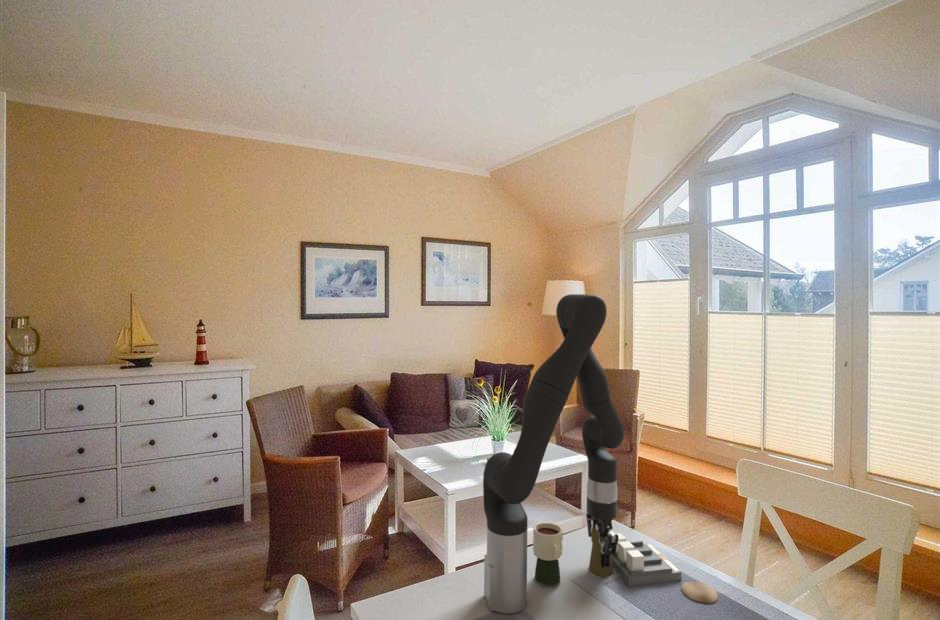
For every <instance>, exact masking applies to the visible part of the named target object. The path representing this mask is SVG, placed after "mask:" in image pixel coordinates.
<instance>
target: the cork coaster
mask: <svg viewBox="0 0 940 620" xmlns="http://www.w3.org/2000/svg"><path fill="white" fill-rule="evenodd" d="M681 592H682V593H683V595H685V596H686V597H687V598H688V599H690V600H693V601H694V602H697V603H702V604H712V603H713V604H714V603H716V602H717V601H718V592H717V591H716V590H715V589H714V588H713V587H711V586H709V585H707V584H706V583H702V582H699V581H685V582H684V583H683V584H682V586H681Z"/></svg>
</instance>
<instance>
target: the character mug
mask: <svg viewBox="0 0 940 620" xmlns="http://www.w3.org/2000/svg"><path fill="white" fill-rule="evenodd" d="M532 531H533V535H532V536H533V538H532V539H533V541H532V543H533V545H532V552H533V555H534V556H535V557H536V564H535V570H534V571H535V572H534V580H535V582H537V583H538V584H540V585H543V586H544V585H545V586H557V585H559V584H560V583H561V568H560V563H559V559H560V558H561V556H562V555H563V553H564V552H563V540H564V535H563V533H564V532H563V528H562V526H560V525H559V524H557V523H554V522H549V521H548V522H547V521H545V522H539V523H536V524H534V526H533V530H532Z"/></svg>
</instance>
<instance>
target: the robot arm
mask: <svg viewBox="0 0 940 620" xmlns="http://www.w3.org/2000/svg"><path fill="white" fill-rule="evenodd" d="M606 305H607V304H606V303H605V301H604V299H603V298H602V297H601V296H599V295H595V294H582V293H581V294H577V293H576V294H572V293H571V294H567V295H565V296H563V297H561V298H560V299H559V300H558V303H557V306H556V310H555V311H556V319H557V323H558V326H559V328H560V331H561V334H562V336H563V339H564V340H563V341H562V343H561V344H560V346H559V347H558V348H557V349H556V350H555V351H554V352H553V353H551V355H550V356H548V358H547V359H546V360H545V361H544V362H543V363H542V364H541V365H540V367H538V368H537V369H536V371H535V373H534V375H533V377H532V379H531V381H530V383H529V385H528V388H527V390H526V391H525V395H524V398H523V402H522V418H521V419H522V421H521V430H520V436H519V438H518V442H517V444H516V446H515V449H514V450H513V453H512V454H510V453H509V452H503V451H502V452H497V453H495V454H493V455H492V456H490V457H489V458H488V460H487V462H486V463H485V466H484V471H483V476H482V477H483V478H482V482H483V483H482V486H483V487H482V489H483V490H482V491H483V509H484V510H483V511H484V514H485V517H486V554H484V557H483V558H484V559H483V560H484V562H483V563H484V564H483V565H484V571H483V572H484V573H483V575H484V576H483V579H484V580H483V584H484V585H483V595H484V596H483V597H484V599H485V601H486V606H487V608H488V610H489V611H490V612H498V613H500V614H517V613H518V612H521V611H523V610H524V609H525V607H526V606H527V599H528V597H527V596H528V590H527V587H528V516H527V513H526V511H525V508H524V507H523V505H522V503H523V502H525V500H526V499H527V498H528V497H529V496H530V495H531V493H532V491H533V489H534V487H535V485H536V482H537V478H538V475H539V473H540V469H541V466H542V463H543V459H544V456H545V453H546V450H547V448H548V445H549V443H550V440H551V438H552V435H553V433H554V430H555V427H556V426H557V422H558V421H559V418H560V416H561V414H562V412H563V410H564V408H565V406H566V403H567V401H568V398H569V396H570V394H571V391H572V388H573V387H574V383H575V381H576V379H577V381H578V386H579V390H580V395H581V401H582V406H583V408H584V410H585V411H586V412H588V413H590V414H591V415H589V416H588V417H586V418H585V420H584V422H583V424H582V428H581V438H582V441H583V446H584V450H585V454H586V458H587V462H588V463H587V464H588V465H587V481H586V513H585V515H586V516H585V517H586V525H587V535H588V537H589V538H591V530H592V528H595V527H596V531H597V533H598V538H599V540H598V542H599V543H600V549H601V567H602V568H603V567H608V568H609V567H610V555H615V552H616V548H617V543H618V539H619V537H618V534H616V533H614V531H613V522H612V521H613V520H614V519H615V518H617V515H618V483H617V476H618V475H617V473H618V472H617V471H618V470H617V467H618V466H617V460H616V457H614V456H613V455H612V454H611V453H609V452H608V451H607V449H612V450H613V449H614V450H615V449H618V448H619V447H620V446H621V445H622V443H623V441H624V438H625V429H624V426H623V422H622V419H621V417H620V416H619V414H618V411H617V410H616V407H615V405H614V403H613V402H612V398H611V393H610V387H609V381H608V379H607V375H606V372H605V370H604V368H603V367H602V365H601V364H600V362H599V360H598V358H597V356H596V355H595V353H594V351H593V349H592V346H594V343H595V342H596V339H597V338H598V336H599V335H600V332H601V331H602V329H603V326H604V325H605V321H606V318H607V313H608V311H607V306H606ZM601 536H602V537H603V538H604V537H606V540H605V541H603V540H602V539H601ZM590 542H591V544H592V543H593V540H592V538H591V539H590ZM604 544H605V548H604ZM611 548H612V549H611Z"/></svg>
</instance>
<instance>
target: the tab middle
mask: <svg viewBox="0 0 940 620" xmlns="http://www.w3.org/2000/svg"><path fill="white" fill-rule="evenodd" d="M630 542H631V541H629V540H628V541H627V540H626V541H625V542H618V558H619V559H620V560H621V561H622V562H623V561H627V551H631V550H635V547H634V546H633V545H632V544H631V543H630Z"/></svg>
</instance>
